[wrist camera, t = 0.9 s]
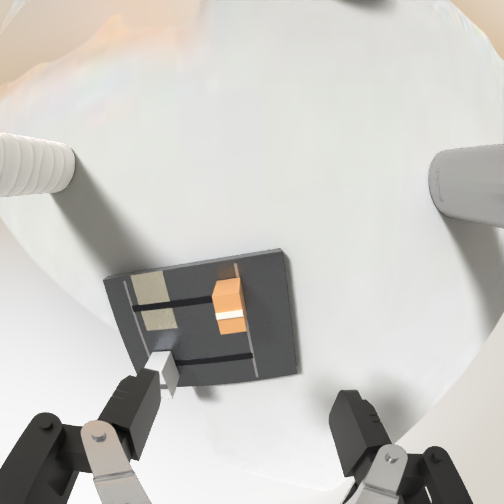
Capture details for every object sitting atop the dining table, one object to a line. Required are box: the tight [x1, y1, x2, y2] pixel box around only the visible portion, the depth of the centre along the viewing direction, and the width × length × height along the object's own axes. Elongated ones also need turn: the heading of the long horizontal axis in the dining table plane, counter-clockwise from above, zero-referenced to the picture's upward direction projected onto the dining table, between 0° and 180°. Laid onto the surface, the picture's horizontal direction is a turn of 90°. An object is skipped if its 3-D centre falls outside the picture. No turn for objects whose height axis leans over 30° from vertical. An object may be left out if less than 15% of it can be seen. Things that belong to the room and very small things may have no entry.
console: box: [103, 248, 297, 387], centre depth 31 cm, size 21×16×2 cm
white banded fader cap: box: [144, 351, 180, 399], centre depth 29 cm, size 2×4×5 cm, turn 9°
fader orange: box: [212, 277, 247, 335], centre depth 27 cm, size 2×4×5 cm, turn 9°
